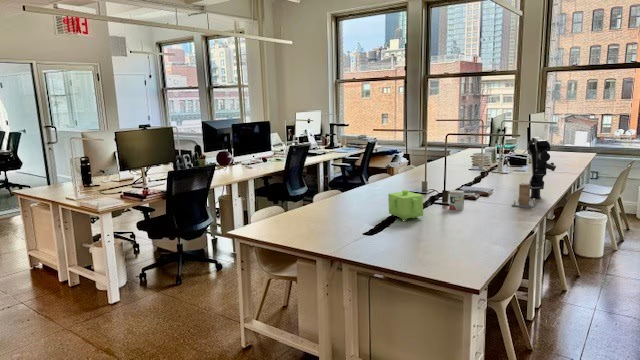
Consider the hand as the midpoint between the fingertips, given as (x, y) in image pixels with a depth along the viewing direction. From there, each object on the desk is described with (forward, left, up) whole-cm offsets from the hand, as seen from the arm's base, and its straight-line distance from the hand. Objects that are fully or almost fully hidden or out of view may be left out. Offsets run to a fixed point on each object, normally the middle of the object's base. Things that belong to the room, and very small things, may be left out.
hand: (540, 182), depth 290 cm
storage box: (+61, -73, -13) cm, 96 cm away
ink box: (+31, -48, -13) cm, 59 cm away
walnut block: (+11, -9, -12) cm, 19 cm away
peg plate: (+11, -9, -13) cm, 19 cm away
